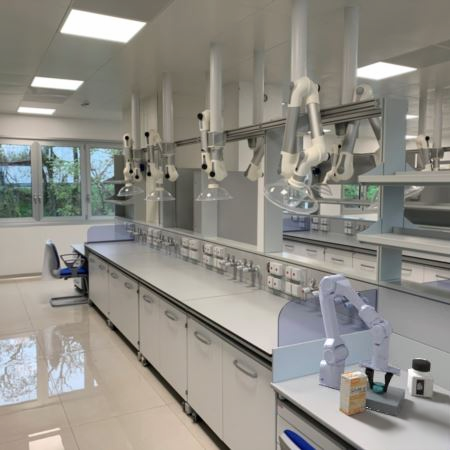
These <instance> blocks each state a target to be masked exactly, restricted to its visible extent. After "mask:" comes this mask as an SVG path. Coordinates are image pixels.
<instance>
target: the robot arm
mask: <svg viewBox="0 0 450 450" xmlns="http://www.w3.org/2000/svg"><path fill="white" fill-rule="evenodd" d="M346 277H347V276H345V275H344V274H342V273H337V274H334V275H333V274H332V275H325V276H324V277H323V278H322V279H321V280H320V281H319V287H320V288H319V293H318V298H319V304H320V310H321V315H322V316H321V317H322V321H323V326H324V332H325V337H326V340H325V341H324V344H323V346H322V347H323V352H322V357H323V359H322V360H321V361H320V364H319V369H318V371H319V373H318V376H319V377H318V385H321V386H324V387H329V388H332V389H337V390H340V388H341V374H345V370H346V369H345V368H346V365H345V364H346V359H347V358H348V357H349V354H350V353H349V349H348V347H347V346H346V342H345V340H344V339H343V338H342V337H341V333H340V328H339V323H338V317H337V312H336V306H335V300H334V298H335V297H336V296H337V295H341V296H344V297H345V298H346V299H347V300H348V301H349V302H350V303H351V304H352V306H354V307H355V308H356V309H357V311H358V316H359V317H360V319H361V320H362V321H363V322H364V323H365V325H366V326H367V327H368V328H369V329H370V330H369V331H370V335H371V337H372V350H371V351H372V352H371V361H364V360H360V361H359V363H358V368H360V369H361V368H363V369H365V370H364V374H365V375H367V381H369V385H370V389H372V384H373V382H374V376H375V375H374V374H375V372H381V373H385V374H384V384H385V386H384V393H386V392H387V389H388V386H390V383H391V381H392V378H393V377H394V375H395V376H397V377H401V375H402V369H400V368H396V367H393V366H391V365H389V357H390V356H389V355H390V336H391V335H393V332H394V328H393V325H392V324H391V322H390V321H388V320H387V319H386V320H385V319H384V318H383V317H382V316H380V315H379V313H378V312H377V311H376V308H375V307H374V306H372V305H371V304H366V303H365V302H364V300H363V299H362V298H361V296H360V295H358V293H357V291H355V289H354V288H353V287H352V285H351V282H350V280H349V279H348V278H346Z"/></svg>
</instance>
